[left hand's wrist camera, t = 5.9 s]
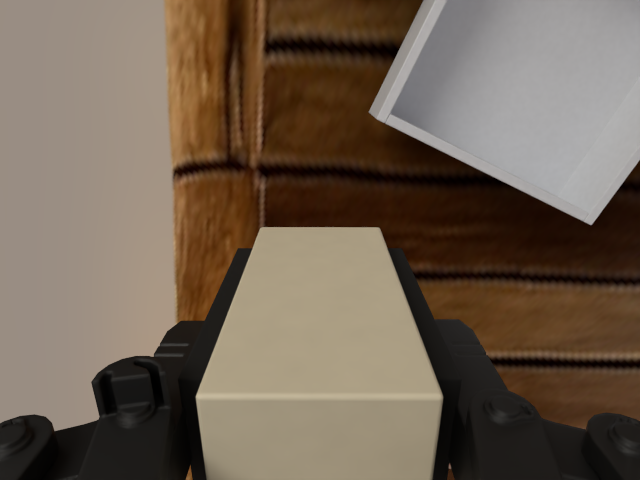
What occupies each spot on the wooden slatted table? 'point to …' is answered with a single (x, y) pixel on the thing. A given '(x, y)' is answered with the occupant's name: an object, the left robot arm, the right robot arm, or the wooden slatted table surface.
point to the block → (319, 366)
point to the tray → (525, 93)
